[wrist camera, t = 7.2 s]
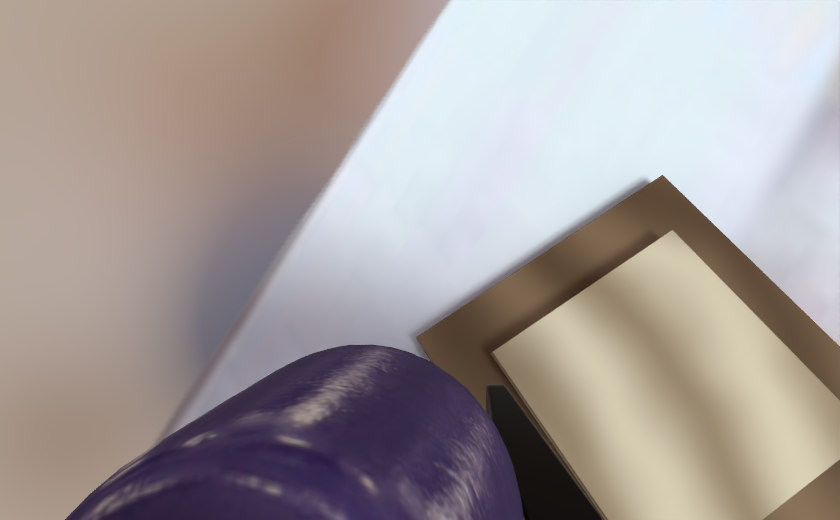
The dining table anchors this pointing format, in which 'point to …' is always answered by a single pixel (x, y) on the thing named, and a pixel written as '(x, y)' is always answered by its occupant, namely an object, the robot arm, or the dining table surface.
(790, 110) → the dining table surface
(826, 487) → the two-tier stand
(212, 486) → the toy lamp
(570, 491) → the robot arm
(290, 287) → the dining table surface
